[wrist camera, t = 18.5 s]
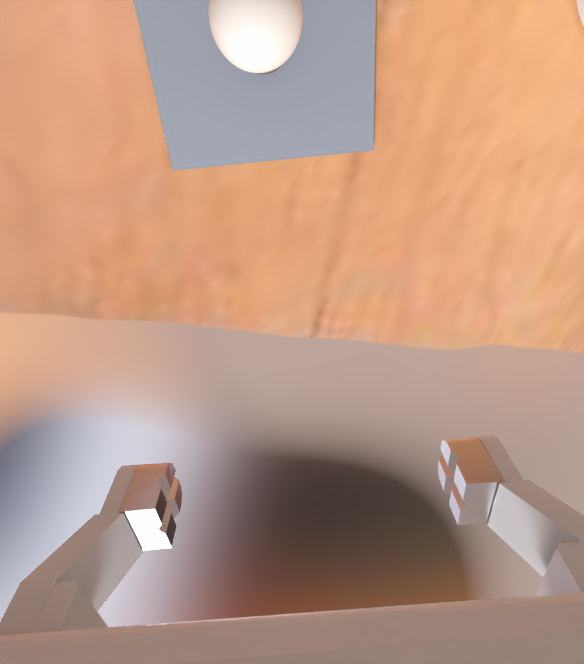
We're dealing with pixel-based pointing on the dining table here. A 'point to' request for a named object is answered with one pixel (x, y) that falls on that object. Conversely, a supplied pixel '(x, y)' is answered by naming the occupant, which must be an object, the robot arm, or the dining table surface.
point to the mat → (262, 86)
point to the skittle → (256, 31)
